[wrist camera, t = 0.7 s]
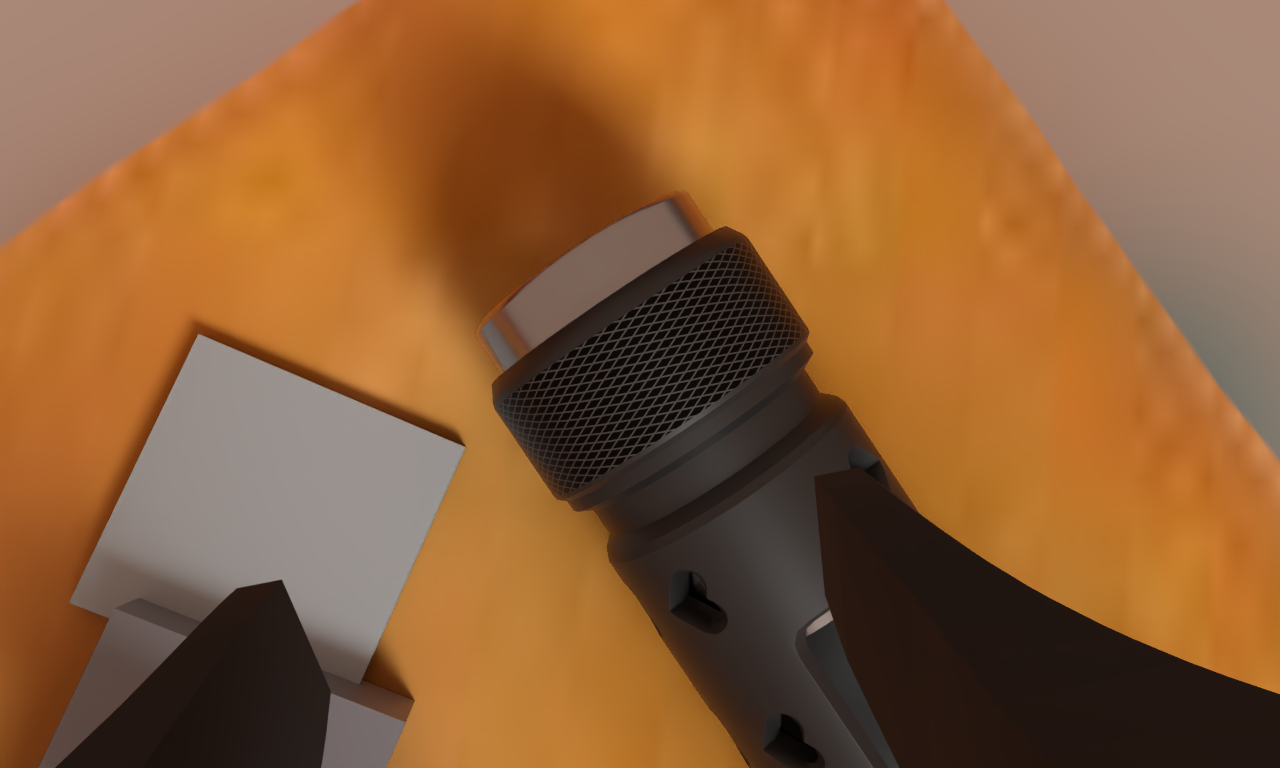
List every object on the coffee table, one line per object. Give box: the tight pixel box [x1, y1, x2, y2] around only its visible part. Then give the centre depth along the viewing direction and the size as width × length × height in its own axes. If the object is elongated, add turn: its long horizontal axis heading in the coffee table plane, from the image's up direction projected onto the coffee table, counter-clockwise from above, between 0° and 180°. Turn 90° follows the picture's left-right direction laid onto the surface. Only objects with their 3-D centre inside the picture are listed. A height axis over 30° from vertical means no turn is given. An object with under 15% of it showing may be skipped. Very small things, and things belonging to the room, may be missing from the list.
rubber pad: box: [69, 334, 466, 684], centre depth 32 cm, size 10×10×1 cm
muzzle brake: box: [476, 190, 919, 768], centre depth 30 cm, size 10×28×10 cm, turn 34°
